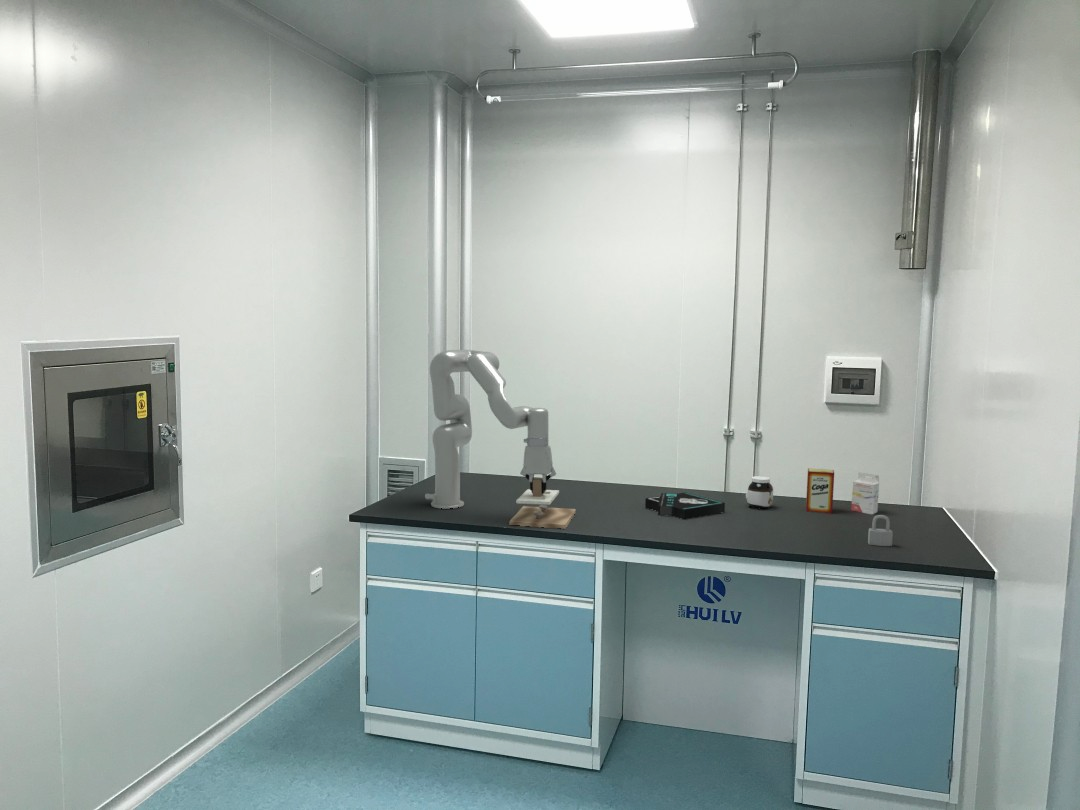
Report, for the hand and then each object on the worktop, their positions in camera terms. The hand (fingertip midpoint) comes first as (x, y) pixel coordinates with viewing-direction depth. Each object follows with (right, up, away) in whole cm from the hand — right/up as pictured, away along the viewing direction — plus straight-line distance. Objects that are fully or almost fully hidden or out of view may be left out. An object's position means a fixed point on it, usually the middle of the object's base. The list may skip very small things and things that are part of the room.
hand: (538, 492), depth 300 cm
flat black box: (+56, -9, +18) cm, 60 cm away
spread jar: (+86, -8, +26) cm, 91 cm away
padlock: (+113, -15, -27) cm, 117 cm away
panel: (0, -2, 0) cm, 2 cm away
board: (+2, -10, +1) cm, 10 cm away
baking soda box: (+108, -9, +20) cm, 111 cm away
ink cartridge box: (+125, -10, +19) cm, 127 cm away
